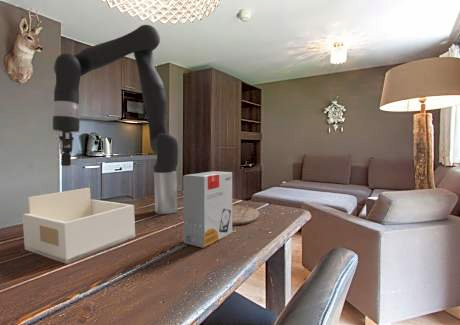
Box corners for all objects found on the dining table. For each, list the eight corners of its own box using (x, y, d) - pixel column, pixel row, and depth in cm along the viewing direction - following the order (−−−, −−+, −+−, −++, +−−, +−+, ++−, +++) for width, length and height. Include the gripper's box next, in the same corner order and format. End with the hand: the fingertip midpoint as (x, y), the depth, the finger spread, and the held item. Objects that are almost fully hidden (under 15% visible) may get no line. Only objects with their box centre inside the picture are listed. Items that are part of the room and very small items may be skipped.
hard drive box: (203, 249, 72) (202, 176, 70) (182, 244, 76) (181, 175, 74) (233, 232, 85) (232, 171, 83) (214, 228, 89) (213, 170, 87)
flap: (91, 223, 90) (90, 187, 89) (32, 240, 74) (29, 197, 73) (90, 223, 90) (88, 187, 89) (30, 240, 74) (27, 197, 73)
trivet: (258, 209, 115) (258, 205, 115) (259, 228, 90) (259, 222, 90) (202, 209, 117) (202, 205, 117) (188, 226, 92) (188, 221, 92)
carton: (135, 236, 82) (134, 205, 81) (65, 264, 63) (63, 223, 63) (94, 227, 91) (93, 199, 91) (23, 249, 73) (21, 214, 72)
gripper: (81, 115, 83) (81, 166, 83) (77, 120, 95) (76, 165, 95) (53, 112, 79) (52, 165, 79) (52, 118, 90) (51, 165, 90)
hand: (65, 165), depth 87 cm, fingers open, 8 cm apart
